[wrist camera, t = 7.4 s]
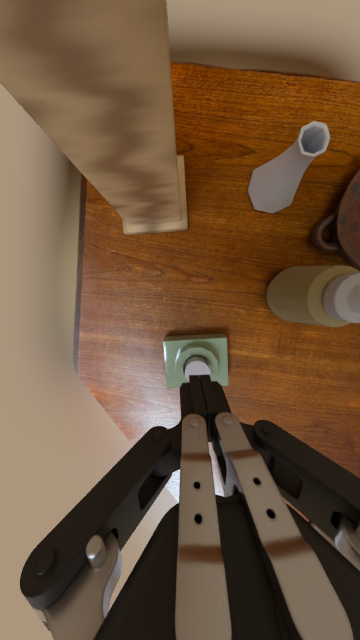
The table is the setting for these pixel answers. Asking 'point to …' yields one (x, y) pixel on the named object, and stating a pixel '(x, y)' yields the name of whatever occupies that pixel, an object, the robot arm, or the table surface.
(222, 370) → the green button base
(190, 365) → the grey push button
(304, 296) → the squeeze bottle
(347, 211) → the dish
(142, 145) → the stand
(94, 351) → the table surface
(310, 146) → the flask
